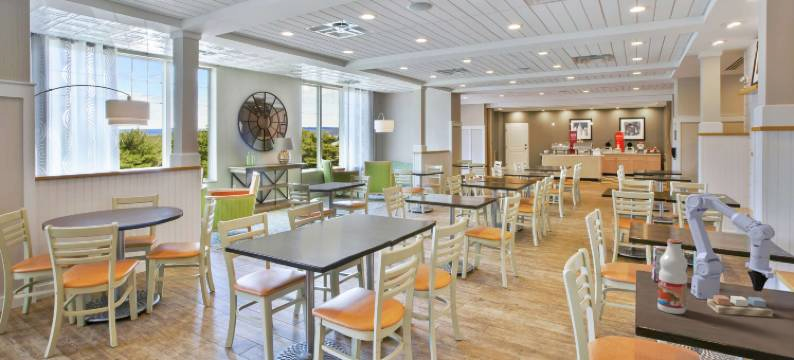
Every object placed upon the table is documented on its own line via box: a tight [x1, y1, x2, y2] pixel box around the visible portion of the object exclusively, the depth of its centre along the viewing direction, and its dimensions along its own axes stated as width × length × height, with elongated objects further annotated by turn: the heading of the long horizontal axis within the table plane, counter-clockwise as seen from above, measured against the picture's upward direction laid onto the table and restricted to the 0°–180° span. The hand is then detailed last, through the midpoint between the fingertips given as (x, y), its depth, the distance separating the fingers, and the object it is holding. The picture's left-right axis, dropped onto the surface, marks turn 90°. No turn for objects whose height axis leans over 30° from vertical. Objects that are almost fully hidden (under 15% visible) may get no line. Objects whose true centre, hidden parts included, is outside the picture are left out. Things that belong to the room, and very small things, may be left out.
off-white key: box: [729, 295, 748, 306], centre depth 169 cm, size 4×4×2 cm
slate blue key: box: [747, 296, 767, 308], centre depth 168 cm, size 4×4×2 cm
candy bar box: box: [651, 245, 684, 283], centre depth 204 cm, size 11×5×16 cm, turn 71°
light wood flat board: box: [706, 299, 774, 318], centre depth 170 cm, size 18×9×2 cm, turn 77°
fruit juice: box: [657, 238, 688, 315], centre depth 170 cm, size 9×9×28 cm
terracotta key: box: [713, 294, 731, 305], centre depth 171 cm, size 4×4×2 cm
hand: (757, 290), depth 168 cm, fingers closed
